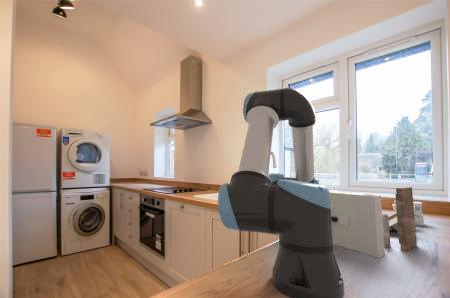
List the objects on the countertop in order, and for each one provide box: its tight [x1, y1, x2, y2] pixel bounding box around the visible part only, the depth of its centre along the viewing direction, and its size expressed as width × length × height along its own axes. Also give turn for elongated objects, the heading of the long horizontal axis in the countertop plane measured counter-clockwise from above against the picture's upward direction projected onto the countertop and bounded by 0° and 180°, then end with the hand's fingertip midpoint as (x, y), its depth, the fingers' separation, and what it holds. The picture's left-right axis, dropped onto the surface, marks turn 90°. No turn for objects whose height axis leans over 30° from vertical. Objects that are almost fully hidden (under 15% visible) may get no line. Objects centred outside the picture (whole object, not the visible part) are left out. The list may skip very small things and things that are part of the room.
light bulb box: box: [393, 200, 425, 227], centre depth 110 cm, size 11×7×11 cm, turn 46°
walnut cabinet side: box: [382, 186, 418, 252], centre depth 77 cm, size 6×11×20 cm, turn 125°
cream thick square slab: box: [329, 191, 386, 259], centre depth 74 cm, size 17×5×18 cm, turn 35°
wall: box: [386, 210, 415, 232], centre depth 95 cm, size 16×9×15 cm
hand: (351, 220), depth 74 cm, fingers closed on cream thick square slab, 3 cm apart
